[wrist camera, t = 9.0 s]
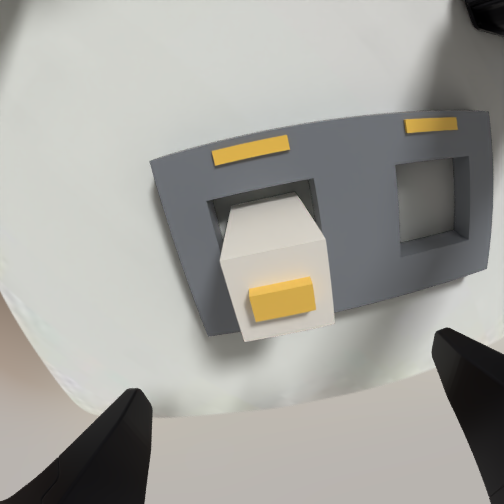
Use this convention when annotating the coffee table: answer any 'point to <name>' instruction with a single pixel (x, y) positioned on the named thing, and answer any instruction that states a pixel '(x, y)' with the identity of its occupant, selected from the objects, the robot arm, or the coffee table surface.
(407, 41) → the coffee table surface
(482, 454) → the robot arm
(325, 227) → the panel
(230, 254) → the plug
